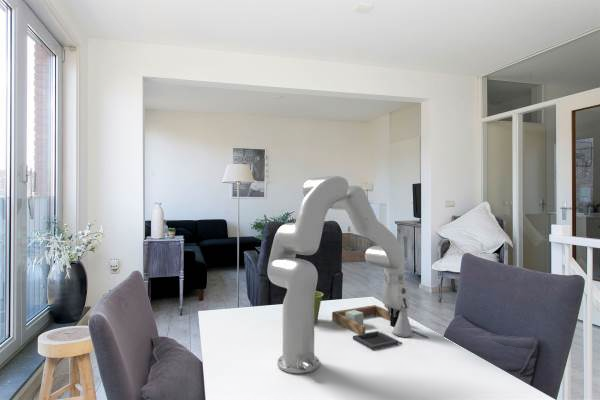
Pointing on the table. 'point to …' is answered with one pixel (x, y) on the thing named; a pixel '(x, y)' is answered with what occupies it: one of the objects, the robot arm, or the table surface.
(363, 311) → the wooden u-shaped frame
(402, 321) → the flask
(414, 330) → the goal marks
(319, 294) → the plant pot
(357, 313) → the grey green block
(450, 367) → the table surface
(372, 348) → the frame
